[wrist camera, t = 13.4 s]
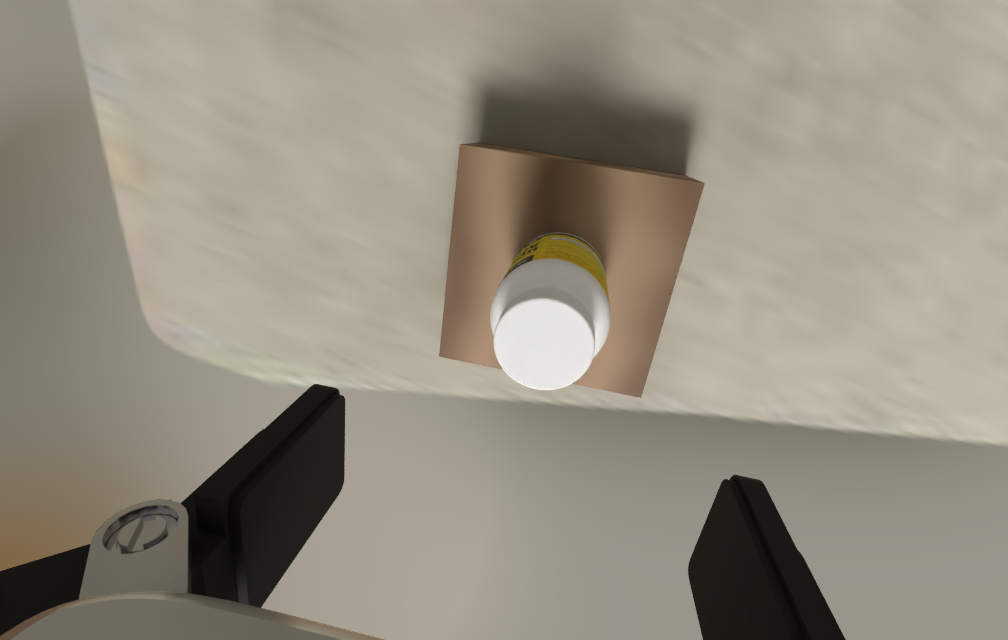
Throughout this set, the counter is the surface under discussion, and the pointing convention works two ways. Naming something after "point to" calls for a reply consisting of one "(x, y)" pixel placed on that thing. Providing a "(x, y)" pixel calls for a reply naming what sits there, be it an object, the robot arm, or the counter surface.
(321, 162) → the counter surface
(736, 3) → the counter surface
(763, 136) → the counter surface
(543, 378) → the supplement bottle
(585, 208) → the walnut block
